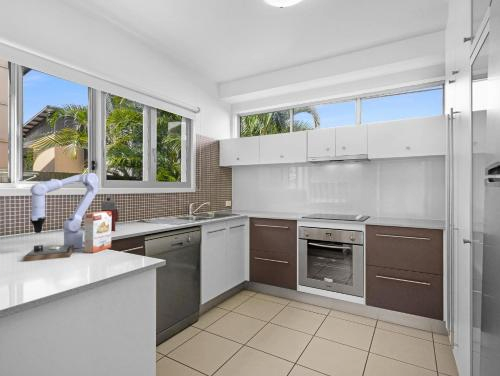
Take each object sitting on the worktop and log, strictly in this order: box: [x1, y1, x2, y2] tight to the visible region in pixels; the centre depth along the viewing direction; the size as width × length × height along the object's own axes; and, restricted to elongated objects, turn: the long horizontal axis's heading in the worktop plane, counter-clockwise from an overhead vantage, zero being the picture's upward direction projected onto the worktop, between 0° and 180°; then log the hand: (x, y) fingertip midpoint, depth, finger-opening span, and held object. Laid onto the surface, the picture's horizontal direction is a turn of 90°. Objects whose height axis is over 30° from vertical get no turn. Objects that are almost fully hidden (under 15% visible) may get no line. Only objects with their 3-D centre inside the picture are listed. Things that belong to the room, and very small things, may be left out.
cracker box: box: [83, 210, 112, 254], centre depth 151 cm, size 14×6×21 cm, turn 168°
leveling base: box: [23, 245, 75, 262], centre depth 139 cm, size 18×16×3 cm
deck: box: [28, 244, 71, 256], centre depth 139 cm, size 15×13×3 cm
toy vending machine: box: [101, 194, 119, 232], centre depth 212 cm, size 9×11×28 cm
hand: (38, 232), depth 144 cm, fingers closed
